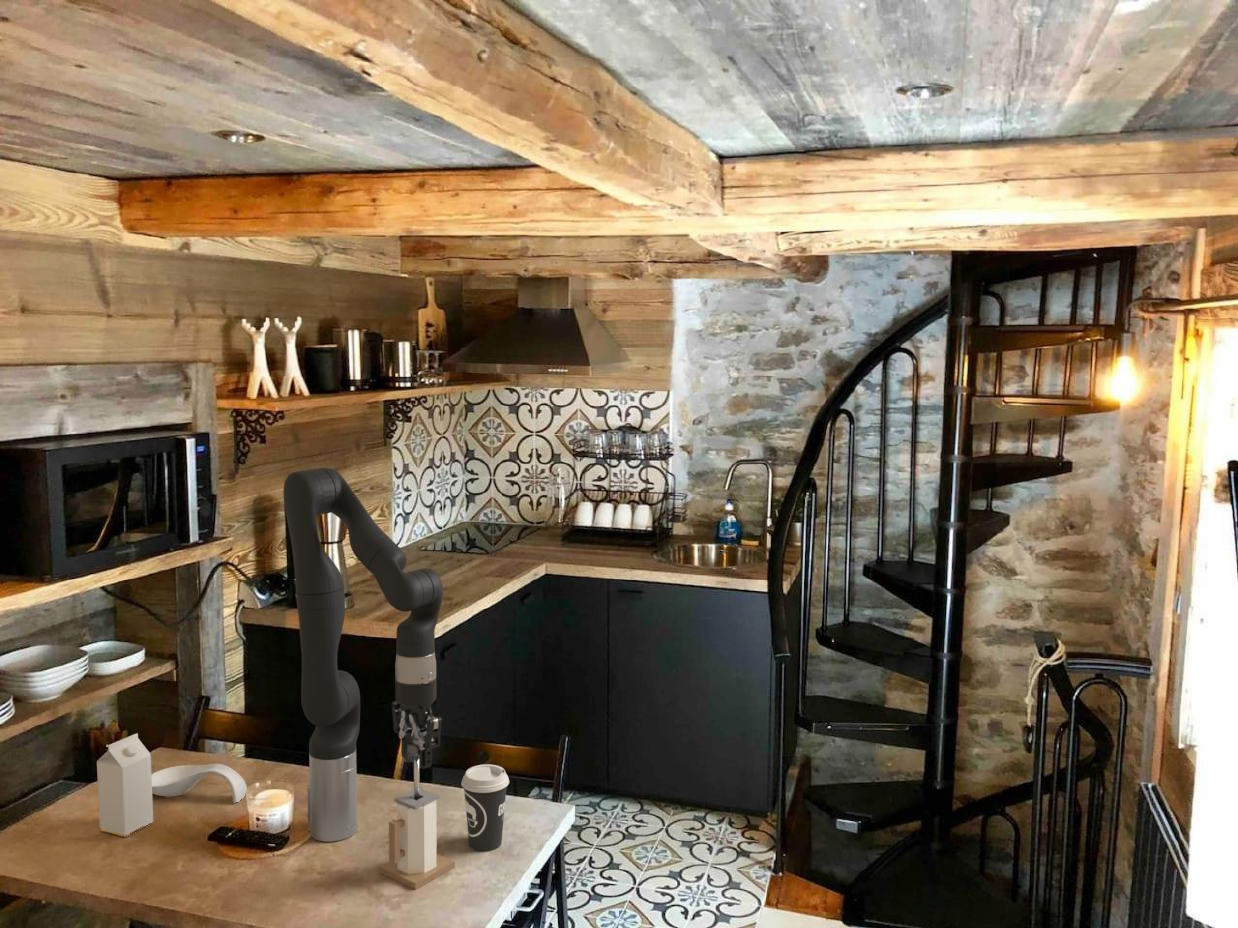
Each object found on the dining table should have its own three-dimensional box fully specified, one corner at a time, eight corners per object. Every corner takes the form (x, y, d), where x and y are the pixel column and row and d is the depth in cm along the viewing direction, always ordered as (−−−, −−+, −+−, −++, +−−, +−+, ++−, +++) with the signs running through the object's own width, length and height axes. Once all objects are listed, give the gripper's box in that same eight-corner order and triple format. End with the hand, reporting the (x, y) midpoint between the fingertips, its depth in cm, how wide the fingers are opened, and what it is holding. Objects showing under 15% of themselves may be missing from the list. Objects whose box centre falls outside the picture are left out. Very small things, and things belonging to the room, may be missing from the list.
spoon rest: (131, 800, 217) (130, 769, 217) (166, 778, 229) (165, 748, 228) (227, 812, 213) (226, 780, 212) (258, 789, 224) (257, 758, 223)
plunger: (398, 812, 188) (398, 744, 186) (417, 803, 192) (417, 736, 190) (416, 820, 185) (415, 750, 183) (435, 810, 189) (434, 742, 187)
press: (374, 874, 187) (373, 801, 186) (419, 851, 196) (418, 781, 195) (410, 892, 182) (410, 816, 180) (454, 867, 191) (454, 794, 189)
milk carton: (99, 831, 203) (95, 742, 201) (128, 816, 209) (124, 730, 207) (125, 838, 200) (121, 748, 198) (153, 823, 207) (150, 735, 204)
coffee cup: (500, 857, 195) (500, 784, 193) (454, 852, 196) (454, 779, 195) (515, 834, 204) (515, 765, 202) (471, 829, 206) (470, 760, 204)
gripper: (378, 670, 188) (379, 756, 190) (419, 689, 178) (420, 779, 179) (412, 662, 193) (413, 745, 195) (454, 680, 183) (454, 768, 185)
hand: (416, 761), depth 187 cm, fingers open, 5 cm apart
